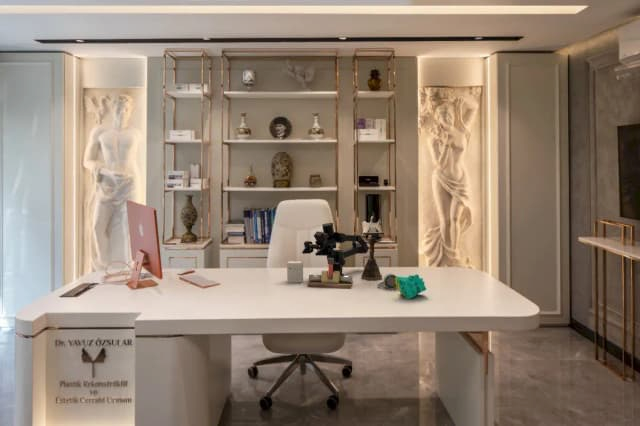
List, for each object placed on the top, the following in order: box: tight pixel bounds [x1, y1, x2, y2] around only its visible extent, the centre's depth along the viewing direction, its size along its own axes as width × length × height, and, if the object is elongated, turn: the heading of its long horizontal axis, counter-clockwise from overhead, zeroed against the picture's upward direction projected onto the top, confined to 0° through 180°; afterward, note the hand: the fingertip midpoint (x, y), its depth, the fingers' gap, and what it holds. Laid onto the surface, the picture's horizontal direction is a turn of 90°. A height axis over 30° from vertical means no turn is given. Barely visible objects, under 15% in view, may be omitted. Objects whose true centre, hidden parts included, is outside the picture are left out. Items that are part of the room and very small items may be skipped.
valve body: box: [308, 270, 353, 284], centre depth 252 cm, size 4×22×6 cm, turn 81°
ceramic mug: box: [377, 272, 398, 290], centre depth 247 cm, size 10×8×7 cm
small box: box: [286, 260, 304, 283], centre depth 261 cm, size 8×6×10 cm
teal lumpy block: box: [395, 274, 427, 300], centre depth 229 cm, size 15×12×13 cm
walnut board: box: [307, 279, 354, 290], centre depth 253 cm, size 12×22×2 cm, turn 81°
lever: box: [327, 258, 334, 280], centre depth 252 cm, size 2×3×11 cm
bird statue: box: [361, 215, 385, 281], centre depth 267 cm, size 17×13×35 cm
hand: (308, 253), depth 259 cm, fingers open, 9 cm apart
